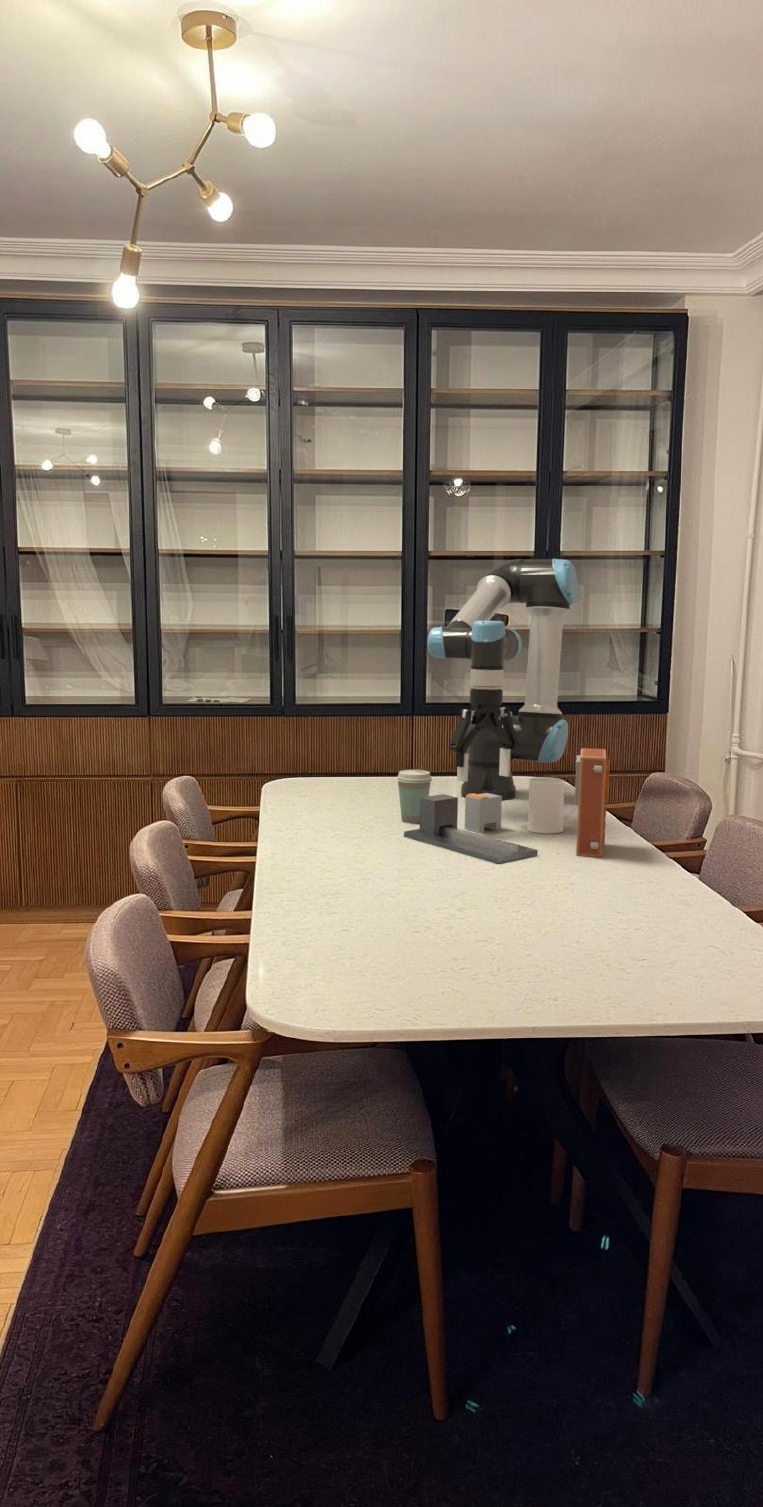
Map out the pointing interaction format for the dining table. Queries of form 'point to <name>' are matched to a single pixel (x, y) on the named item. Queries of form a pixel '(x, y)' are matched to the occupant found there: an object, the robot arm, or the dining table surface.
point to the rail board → (471, 847)
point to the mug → (547, 805)
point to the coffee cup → (412, 793)
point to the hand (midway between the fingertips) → (483, 778)
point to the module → (482, 812)
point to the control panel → (591, 800)
